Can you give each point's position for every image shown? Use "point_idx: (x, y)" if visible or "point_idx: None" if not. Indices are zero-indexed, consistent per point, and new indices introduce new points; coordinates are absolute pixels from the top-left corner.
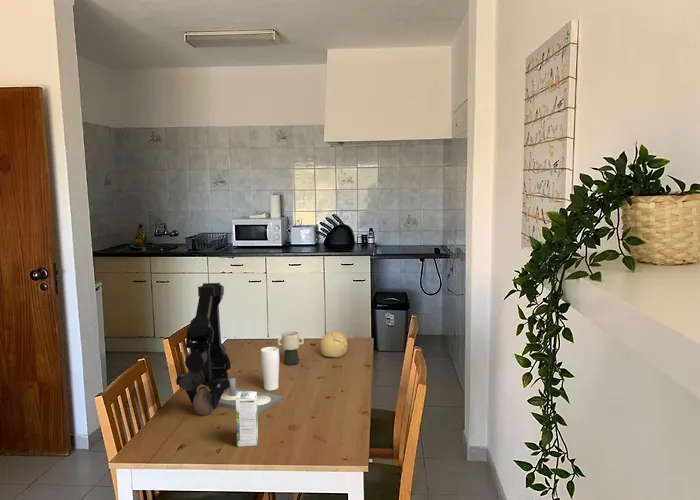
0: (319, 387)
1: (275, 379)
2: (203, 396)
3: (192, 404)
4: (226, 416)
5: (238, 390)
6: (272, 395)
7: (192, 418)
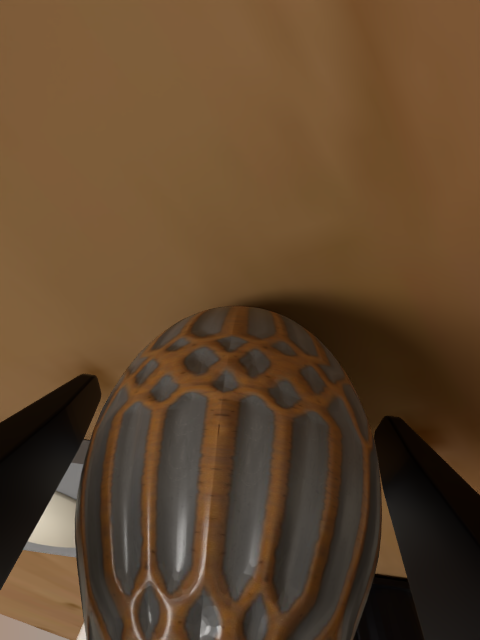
0: None
1: (79, 633)
2: (110, 555)
3: (395, 419)
4: (27, 346)
5: None
6: (32, 547)
7: (282, 224)
